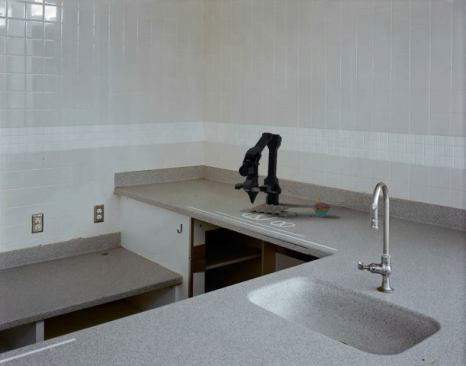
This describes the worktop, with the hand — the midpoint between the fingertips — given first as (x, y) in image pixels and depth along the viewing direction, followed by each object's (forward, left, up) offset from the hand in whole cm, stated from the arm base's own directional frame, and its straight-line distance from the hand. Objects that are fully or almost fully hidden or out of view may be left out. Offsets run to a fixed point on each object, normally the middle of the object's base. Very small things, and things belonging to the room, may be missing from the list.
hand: (252, 203), depth 293 cm
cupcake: (-30, +20, -5) cm, 36 cm away
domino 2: (-3, +2, -4) cm, 5 cm away
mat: (-5, +5, -4) cm, 8 cm away
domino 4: (-9, +9, -3) cm, 13 cm away
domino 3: (-5, +5, -4) cm, 8 cm away
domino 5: (-11, +11, -3) cm, 16 cm away
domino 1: (0, -1, -4) cm, 4 cm away
